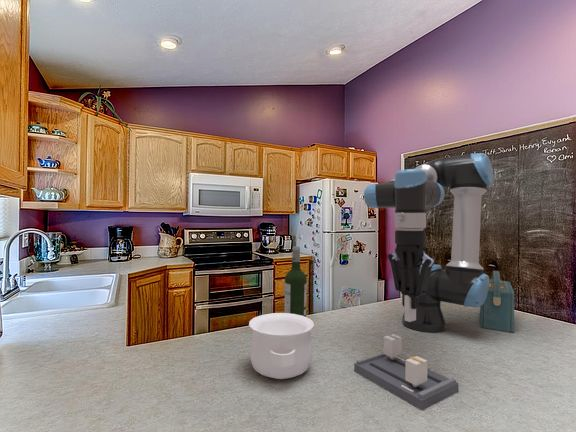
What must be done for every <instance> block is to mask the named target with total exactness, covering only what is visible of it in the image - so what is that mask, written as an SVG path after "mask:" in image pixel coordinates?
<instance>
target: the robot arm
mask: <svg viewBox="0 0 576 432" xmlns="http://www.w3.org/2000/svg"><path fill="white" fill-rule="evenodd" d="M492 165H493V164H492V163H491V160H490V157H489V156H488V155H487V154H485V153H483V152H479V153H469V154H461V155H454V156H453V155H452V156H444V157H439V158H435V159H432V160H429V161H427V162H424V163H422V164H421V165H418V166H416V167H414V168H407V169H400V170H398V171H396V173H395V175H394V178H393V179H391V180H387V181H385V182H383V183H374V184H368V185H367V186H366V187H365V189H364V192H363V199H364V202H365V205H366V206H367V207H369V208H372V209H383V208H384V209H390V208H395V209H394V227H395V229H396V230H395V231H394V243H395V244H396V245H395V248H394V252H392V253H389V254H387V258H388V261H389V262H390V266H391V272H392V277H393V283H394V289H395V290H396V291H397V292H400V293H401V295H402V296H401V297H402V298H401V301H402V303H401V304H402V307H404V312H403V315H402V324H403V326H405V328H409V329H411V330H415V331H420V332H423V333H424V332H425V333H440V332H444V331H446V327H447V326H446V320H445V318H444V316H445V315H444V314H443V310H442V307H441V305H442V304H441V302H442V303H449V304H453V305H459V306H463V307H465V308H466V307H470V308H480V306H482V305H483V304H484V302H485V300H486V297H487V294H488V290H489V280H490V276H489V275H488V274H486V273H484V271H485V269H484V267H483V266H482V265H481V264H480V243H481V242H480V239H481V219H482V218H481V217H482V216H481V215H482V212H481V211H482V196H483V195H484V194H485V193H487V191H488V187H489V186H492V185H493V184H494V171H493V166H492ZM445 188H446V189H447V188H449V192H450V193H451V194H452V195H453V217H452V238H451V253H450V254H451V255H450V256H451V258H450V261H449V262H448V263H447V264H446V265H445V269H442V266H441V265H440V264H436V262H437V261H436V259H435V258H434V257H433V258H431V257H430V256H429V255H427V251H426V245H427V232H426V231H425V230H424V229H426V228H427V209H428V208H429V209H431V208H435V207H437V206H439V205H441V203H442V202H443V201H444V198H445V196H446V195H445V194H446V193H445Z"/></svg>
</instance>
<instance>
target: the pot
mask: <svg viewBox="0 0 576 432" xmlns="http://www.w3.org/2000/svg"><path fill="white" fill-rule="evenodd" d="M248 327H249V328H250V330H252V333H251V338H250V346H249V359H250V362H251V366H252V368H253V369H254V370H255V372H257V373H259V374H260V375H261V376H263V377H268V378H271V379H276V380H287V379H292V378H294V377H297V376H300V375H302V374H303V373H305V372H306V371H307V370H308V369H309V367H310V364H311V361H312V357H313V342H312V340H313V339H312V334H311V331H312V330H313V329H314V327H315V323H314V322H313V320H312V319H311V318H309V317H307V316H306V317H304V316H301V315H297V314H290V313H284V312H274V313H273V312H272V313H266V314H260V315H258V316H255V317H253V318H251V319H250V320H249V324H248Z"/></svg>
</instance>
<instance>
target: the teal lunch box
mask: <svg viewBox="0 0 576 432" xmlns="http://www.w3.org/2000/svg"><path fill="white" fill-rule="evenodd" d="M479 319H480V320H479V327H480V328H482V329H488V330H494V331H499V332H504V333H505V332H506V333H514V332H515V291H514V289H513V287H512V284H511V282H510V281H508V280H501V273H500V271H499V270H492V278H490V279H489V290H488V294H487V297H486V300H485V302H484V304H483V305H482V306H480V307H479Z"/></svg>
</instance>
